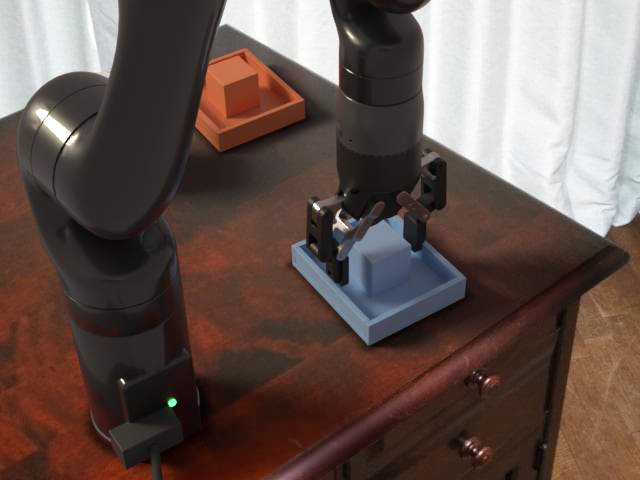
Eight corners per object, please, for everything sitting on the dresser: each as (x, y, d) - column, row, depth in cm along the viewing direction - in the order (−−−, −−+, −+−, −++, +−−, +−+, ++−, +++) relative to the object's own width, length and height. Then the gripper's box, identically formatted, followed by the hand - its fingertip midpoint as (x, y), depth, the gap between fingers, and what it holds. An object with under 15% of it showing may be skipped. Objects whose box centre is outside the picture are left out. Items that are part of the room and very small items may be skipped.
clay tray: (305, 118, 132) (304, 99, 130) (220, 152, 127) (218, 133, 126) (247, 65, 140) (245, 47, 138) (165, 96, 136) (162, 77, 134)
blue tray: (464, 297, 110) (466, 277, 108) (368, 346, 105) (368, 326, 104) (384, 222, 118) (384, 203, 116) (292, 264, 114) (291, 245, 112)
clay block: (260, 105, 133) (258, 73, 130) (226, 118, 131) (223, 86, 128) (241, 87, 136) (238, 55, 133) (207, 100, 134) (204, 67, 131)
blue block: (410, 279, 111) (411, 245, 108) (371, 298, 109) (372, 263, 106) (382, 253, 114) (383, 219, 111) (345, 271, 112) (344, 237, 109)
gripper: (334, 178, 94) (336, 316, 105) (471, 120, 100) (459, 257, 110) (286, 132, 99) (292, 269, 110) (419, 79, 104) (413, 215, 115)
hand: (376, 263), depth 110 cm, fingers open, 8 cm apart
